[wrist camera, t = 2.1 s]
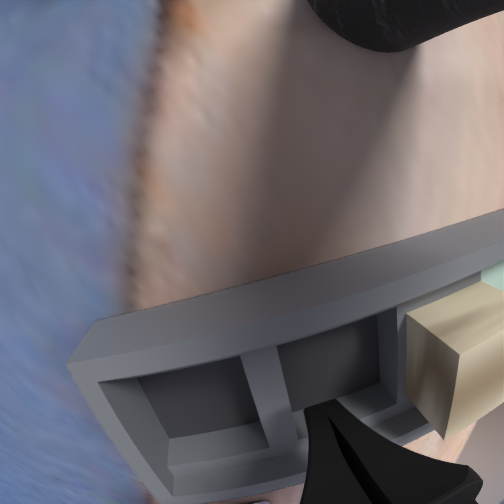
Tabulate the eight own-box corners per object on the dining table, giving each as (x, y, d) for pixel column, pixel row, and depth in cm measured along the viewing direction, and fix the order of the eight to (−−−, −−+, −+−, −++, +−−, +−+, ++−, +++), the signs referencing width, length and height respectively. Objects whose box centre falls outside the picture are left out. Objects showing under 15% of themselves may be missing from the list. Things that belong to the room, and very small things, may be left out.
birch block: (473, 358, 15) (516, 392, 11) (405, 393, 14) (443, 440, 11) (481, 280, 14) (535, 307, 10) (406, 312, 13) (459, 354, 9)
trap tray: (518, 327, 18) (551, 348, 14) (167, 457, 17) (163, 506, 13) (525, 201, 16) (568, 209, 12) (95, 320, 14) (65, 364, 10)
